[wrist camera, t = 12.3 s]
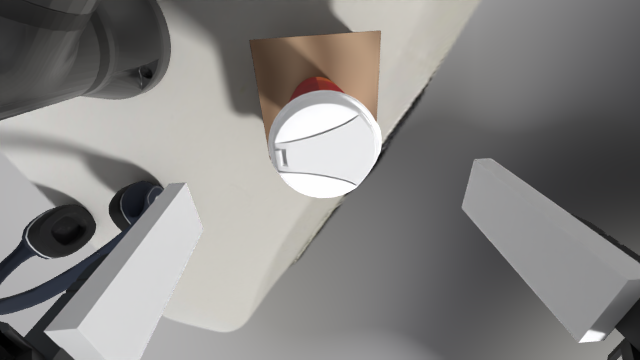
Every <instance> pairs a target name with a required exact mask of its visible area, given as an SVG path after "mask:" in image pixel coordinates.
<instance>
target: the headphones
mask: <svg viewBox="0 0 640 360" xmlns="http://www.w3.org/2000/svg"><path fill="white" fill-rule="evenodd" d="M163 190H164V189H163V188H162V187H161V186H160V185H154V186H153V185H152V184H150V183H149V182H145V181H141V182H138V183H134V184H131V185H129V186H126V187H124V188H122V189H121V190H120V191H118V192H117V193H116V195H115V196H114V197H113V198H112V200H111V202H110V204H109V215H110V217H111V219H112V221H113V222H114V223H115V224H116V226H117V227H118V228H119V229H120V230H121V231H122V232H121V233H120V234H119V235H117V236H116V237H115V238H114V239H112V240H111V241H110V242H108V243H107V244H106V245H104V246H103V247H101V248H100V249H99V250H97V251H96V252H95V253H93V254H92V255H90V256H89V257H88V258H86V259H84V260H83V261H81V262H80V263H78V264H77V265H75V266H74V267H72V268H70V269H68V270H67V271H65V272H63V273H62V274H60V275H58V276H56V277H55V278H53V279H51V280H49V281H47V282H45V283H43V284H41V285H39V286H38V287H35V288H33V289H31V290H28V291H25V292H23V293H20V294H17V295H13V296H10V297H6V298H2V299H0V315H4V314H9V313H13V312H17V311H20V310H23V309H26V308H29V307H32V306H34V305H37V304H39V303H42V302H44V301H46V300H48V299H50V298H52V297H54V296H56V295H57V294H59V293H61V292H63V291H65V290H66V289H68V288H69V287H70V285H71V284H72V283H73V282H76V279H77V278H78V277H79V275H80V274H81V273H82V272H83V271H84V270H85V269H86V268H87V267H88V265H90V264H91V263H93V262H94V261H95V260H97V259H98V258H99V257H101V256H102V255H103V254H107V253H111V251H112V250H113V249H114V248H115V247H116V246H117V244H118V243H119V242H120V241H121V240H122V239H123V237H124V236H125V235H126V234H127V233H128V231H129V230H130V229H131V228H132V227H133V226H134V224H135V223H136V222H137V221H138V220H139V219H140V217H141V216H142V215H143V214H144V213H145V211H146V210H147V209H148V208H149V207H150V206H151V204H152V203H153V202H154V201H155V200H156V199H157V197H158V196H159V195H160V194H161V193H162V191H163ZM95 230H96V223H95V221H94V219H93V217H92V216H91V215H90V214H89V213H88V212H87V211H86V210H85V209H84V208H82V207H80V206H78V205H63V206H59V207H56V208H53V209H50V210H47V211H46V212H44V213H42V214H40V215H39V216H38V217H36V218H35V219H33V220H32V221H31V222H30V223H29V224H28V225H27V226H26V227H25V229H24V231H23V235H22V240H21V242H20V244H19V245H18V247H17V248H16V249H15V250H14V251H13V252H12V253H11V254H10V255H9V256H7V257H6V258H5V259H4V260H3V261H2V262H1V263H0V284H1V283H2V282H3V281H4V280H5V278H6V277H7V276H8V275H9V274H10V273H11V272H12V271H13V270H14V269H16V268H17V267H18V266H19V265H20V264H21V263H22V262H24V261H26V260H27V259H29V258H30V257H32V256H35V255H37V256H39V257H41V258H44V259H53V258H60V257H65V256H68V255H70V254H72V253H74V252H76V251H78V250H79V249H80V248H82V247H83V246H84V245H85V244H86V243H87V242H88V241H89V240H90V239H91V238H92V236H93V235H94V233H95Z"/></svg>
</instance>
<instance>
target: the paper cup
mask: <svg viewBox="0 0 640 360" xmlns="http://www.w3.org/2000/svg"><path fill="white" fill-rule="evenodd" d="M268 149H269V155H270V159H271V161H272V164H273V166H274V168H275V169H276V171H277V172H278V174H279V175H280V176H281V177H282V179H283V180H284V181H285V182H286V183H287V184H288V185H289V186H290V187H292V188H293V189H295V190H296V191H298V192H300V193H302V194H305V195H307V196H311V197H317V198H330V197H336V196H340V195H343V194H345V193H347V192H349V191H351V190H353V189H355V188H356V187H357V186H358V185H359V184H360V183H361V182H362V181H363V179H364V178H365V177H366V176H367V174H368V173H369V171H370V170H371V169H372V167H373V165H374V164H375V162H376V160H377V158H378V155H379V153H380V150H381V131H380V127H379V126H378V124H377V123H376V121H375V119H374V118H373V116H372V114H371V113H370V111H369V110H368V109H367V108H366V107H365V106H364V105H363V104H362V103H361V102H359V101H358V100H357V99H355V98H353V97H351V96H350V95H347V94H345V93H344V92H343V91H342V90H341V89H340V88H339V87H338V86H337V85H336V84H335V83H334V82H332V81H331V80H329V79H327V78H323V77H311V78H308V79H306V80H304V81H303V82H301V83H300V84H299V85H298V86H297V88H296V89H295V91H294V92H293V94H292V96H291V98H290V100H289V102H288V104H286V105H285V106H284V108H283V109H282V110H281V111H280V112H279V113H278V115H277V116H276V118H275V119H274V122H273V124H272V126H271V129H270V133H269V139H268Z"/></svg>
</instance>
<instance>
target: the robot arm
mask: <svg viewBox="0 0 640 360" xmlns="http://www.w3.org/2000/svg"><path fill="white" fill-rule="evenodd" d="M170 53H171V44H170V35H169V30H168V27H167V23H166V20H165V18H164V15H163V13H162V11H161V9H160V7H159V5H158V3H157V1H156V0H0V121H1V120H4V119H7V118H10V117H14V116H17V115H20V114H23V113H26V112H30V111H33V110H36V109H39V108H43V107H46V106H49V105H52V104H56V103H59V102H62V101H65V100H69V99H72V98H75V97H78V96H84V97H93V98H101V99H112V100H116V99H126V98H131V97H134V96H137V95H139V94H142V93H144V92H147V91H149V90H150V89H152V88H153V87H155V86H156V85H157V84H158V83H159V82H160V81H161V79H162V78H163V76H164V75H165V73H166V70H167V68H168V65H169V61H170ZM462 209H463V210H464V211H465V212H466V214H467V215H468V216H469V217H470V218H471V219H472V221H473V222H474V223H475V224H476V225H477V226H478V228H479V229H480V230H481V231H482V232H483V233H484V234H485V235H486V237H487V238H488V239H489V240H490V241H491V243H492V244H493V245H494V246H495V247H496V248H497V249H498V250H499V252H500V253H501V254H502V255H503V256H504V257H505V259H506V260H507V261H508V262H509V263H510V264H511V266H512V267H513V268H514V269H515V270H516V271H517V272H518V274H519V275H520V276H521V277H522V278H523V279H524V280H525V282H526V283H527V284H528V285H529V286H530V287H531V289H532V290H533V291H534V292H535V293H536V294H537V296H538V297H539V298H540V299H541V300H542V301H543V302H544V304H545V305H546V306H547V307H548V308H549V309H550V310H551V312H552V313H553V314H554V315H555V316H556V317H557V319H558V320H559V321H560V322H561V323H562V324H563V325H564V326H565V328H566V329H567V330H568V331H569V332H570V334H571V335H572V336H573V337H574V338H575V339H576V341H577V342H579V343H581V342H592V341H602V340H605V339H606V337H607V336H608V335H609V334H610V333H611V332H612V331H613V330H614V328H616V329H617V330H618V331H619V332H620V333H621V334H622V335H623V336H624V337H625V338H624V339H623V341H621V343H620V344H619V345H618V346H617V347H616V348H615V349H614V350H613V351H612V352H611V353H610V354H609V355H608V359H607V360H617V359H618V358H619V357H620V356H622V359H623V360H640V256H639V255H637V254H636V253H635V252H633V251H632V250H630V249H629V248H627V247H626V246H624V245H620V243H619V242H618V241H617V240H615V239H614V238H613V237H611V236H607V235H606V233H605V232H604V231H602V230H601V229H599V228H598V227H597V226H595V225H594V224H592V223H591V222H589V221H586V220H584V219H582V218H580V217H577V216H575V215H573V214H569V213H568V212H566V211H565V210H563V209H562V208H561V207H559V206H558V205H556V204H555V203H554V202H552V201H551V200H549V199H548V198H546V197H545V196H543V195H542V194H541V193H539V192H538V191H537V190H535V189H534V188H532V187H531V186H529V185H528V184H527V183H525V182H524V181H522V180H521V179H520V178H518V177H517V176H515V175H514V174H513V173H511V172H510V171H508V170H507V169H505V168H504V167H503V166H501V165H500V164H498V163H497V162H496V161H494V160H493V159H491V158H487V159H475V160H474V163H473V167H472V170H471V174H470V178H469V182H468V185H467V190H466V193H465V197H464V201H463V204H462ZM203 230H204V229H203V226H202V224H201V221H200V218H199V215H198V213H197V210H196V207H195V205H194V202H193V199H192V197H191V194H190V191H189V189H188V186H187V183H186V182H185V183H172V184H168V186H167V187H166V188H165V189H164V190H163V191H162V193H161V194H160V195H159V196H158V197H157V199H156V200H155V201H154V202H153V203H152V204H151V206H150V207H149V208H148V209H147V210H146V211H145V213H144V214H143V215H142V216H141V217H140V219H139V220H138V221H137V222H136V223H135V224H134V226H133V227H132V228H131V229H130V230H129V231H128V233H127V234H126V235H125V236H124V237H123V239H122V240H121V241H120V242H119V243H118V244H117V246H116V247H115V248H114V249H113V250H112V251H111V253H107V254H103V255H102V256H101V257H99V258H98V259H97V260H95V261H94V262H93V263H91V264H90V265H88V267H87V268H86V269H85V270H84V271H83V272H82V273H81V274H80V275H79V277H78V278H77V279H76V282H73V283H72V284H71V285H70V287H69V288H68V289H67V290H66V293H65V294H63V295H62V296H61V297H60V298H59V299H58V300H57V301H56V302H55V303H54V305H53V306H52V307H51V308H50V309H49V310H48V311H47V312H46V313H45V315H44V316H43V317H42V318H41V319H40V320H39V321H38V322H37V323H36V325H35V326H34V327H33V328H32V329H31V330H30V331H29V332H28V333H27V335H26V336H25V337H23V336H21V335H20V334H19V333H18V332H17V331H16V330H14V329H13V328H12V327H11V326H10V325H9V324H8V323H4V322H0V360H140V358H141V356H142V354H143V352H144V350H145V348H146V346H147V344H148V342H149V340H150V338H151V335H152V334H153V332H154V330H155V327H156V325H157V323H158V321H159V319H160V317H161V315H162V313H163V311H164V309H165V307H166V305H167V303H168V301H169V299H170V297H171V295H172V293H173V291H174V289H175V287H176V285H177V283H178V281H179V279H180V277H181V274H182V272H183V270H184V268H185V266H186V264H187V262H188V260H189V258H190V256H191V254H192V252H193V250H194V248H195V246H196V244H197V242H198V240H199V238H200V236H201V234H202V232H203Z"/></svg>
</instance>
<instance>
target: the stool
mask: <svg viewBox="0 0 640 360" xmlns="http://www.w3.org/2000/svg"><path fill="white" fill-rule="evenodd" d="M380 40H381V31H367V32H352V33H338V34H324V35H310V36H296V37H282V38H268V39H254V40H249V41H250V47H251V52H252V58H253V64H254V70H255V76H256V81H257V87H258V93H259V99H260V105H261V110H262V116H263V122H264V128H265V133H266V139H267V145H268V139H269V133H270V129H271V126H272V124H273V122H274V119H275V118H276V116H277V115H278V113H279V112H280V111H281V110H282V109H283V108H284V106H285V105H286V104H288V102H289V100H290V98H291V96H292V94H293V92H294V91H295V89H296V88H297V86H298V85H299V84H300V83H301V82H303V81H304V80H306V79H308V78H311V77H323V78H327V79H329V80H331V81H332V82H334V83H335V84H336V85H337V86H338V87H339V88H340V89H341V90H342V91H343V92H344V93H345V94H347V95H350V96H351V97H353V98H355V99H357V100H358V101H359V102H361V103H362V104H363V105H364V106H365V107H366V108H367V109H368V110H369V111H370V113H371V114H372V116H373V118H374V119H375V121H376V123H377V102H378V81H379V61H380ZM268 151H269V149H268ZM269 157H270V155H269ZM270 160H271V159H270Z"/></svg>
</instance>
